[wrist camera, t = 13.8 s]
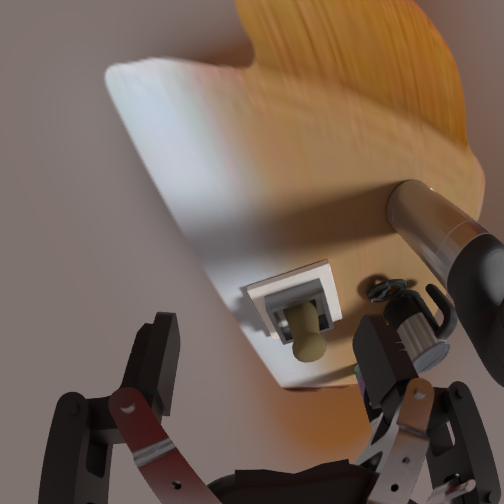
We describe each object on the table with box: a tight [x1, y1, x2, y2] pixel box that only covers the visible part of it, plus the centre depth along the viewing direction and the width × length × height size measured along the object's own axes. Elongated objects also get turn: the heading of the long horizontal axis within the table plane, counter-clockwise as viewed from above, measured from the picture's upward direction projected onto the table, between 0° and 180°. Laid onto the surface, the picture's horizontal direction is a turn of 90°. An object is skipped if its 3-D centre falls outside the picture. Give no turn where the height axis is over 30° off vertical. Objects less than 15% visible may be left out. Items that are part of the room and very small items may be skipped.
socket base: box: [247, 259, 342, 340], centre depth 48 cm, size 14×14×1 cm
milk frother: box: [367, 279, 457, 374], centre depth 43 cm, size 14×16×15 cm
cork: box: [283, 299, 326, 362], centre depth 43 cm, size 6×6×11 cm
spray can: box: [354, 364, 383, 429], centre depth 53 cm, size 6×6×20 cm
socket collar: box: [264, 278, 334, 345], centre depth 46 cm, size 10×10×4 cm
